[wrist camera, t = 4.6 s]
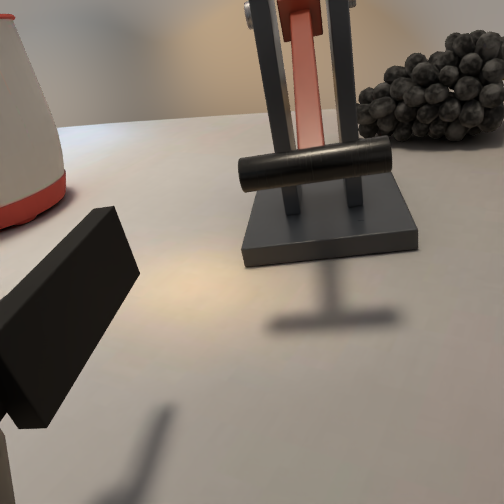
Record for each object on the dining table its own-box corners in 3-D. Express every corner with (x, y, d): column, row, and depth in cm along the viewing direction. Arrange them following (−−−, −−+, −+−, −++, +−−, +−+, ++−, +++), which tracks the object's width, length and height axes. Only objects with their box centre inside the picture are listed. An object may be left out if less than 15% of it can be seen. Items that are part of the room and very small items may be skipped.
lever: (390, 187, 18) (393, 145, 16) (248, 206, 19) (234, 169, 17) (352, 0, 25) (351, -45, 23) (252, 22, 26) (242, -19, 24)
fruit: (325, 47, 38) (528, 9, 30) (354, 61, 45) (525, 33, 37) (327, 148, 40) (518, 136, 32) (355, 147, 47) (517, 137, 39)
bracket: (418, 249, 24) (416, -73, 17) (245, 267, 26) (177, -15, 19) (386, 173, 34) (376, -48, 27) (263, 190, 36) (224, -11, 29)
